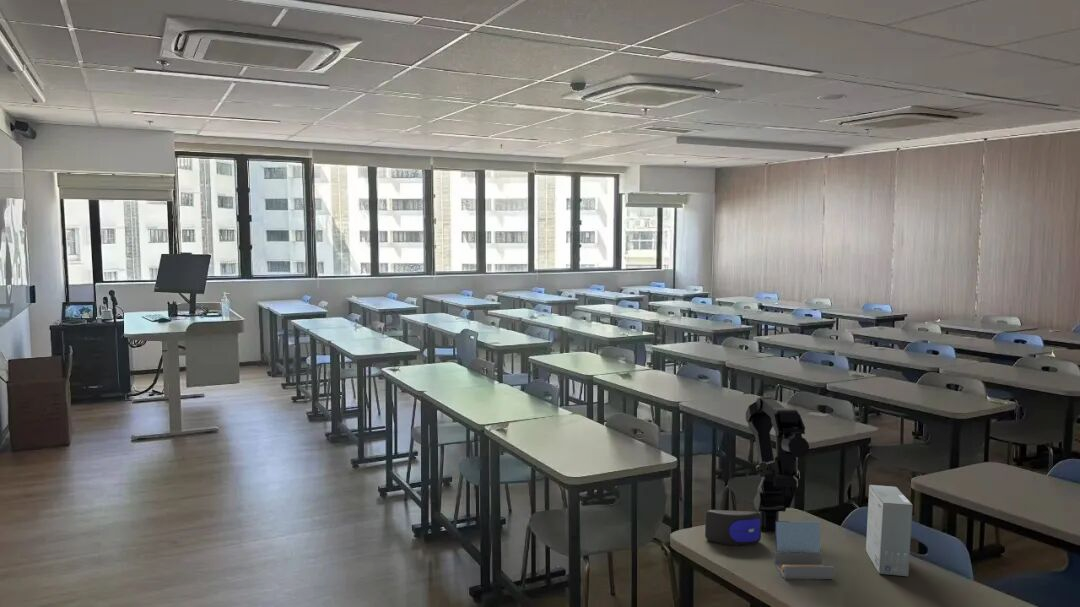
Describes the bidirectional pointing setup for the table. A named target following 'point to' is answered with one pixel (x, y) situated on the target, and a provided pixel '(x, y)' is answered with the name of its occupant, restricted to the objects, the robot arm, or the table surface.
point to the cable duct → (802, 566)
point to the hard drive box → (889, 530)
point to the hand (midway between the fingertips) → (787, 507)
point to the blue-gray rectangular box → (797, 536)
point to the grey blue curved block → (733, 527)
